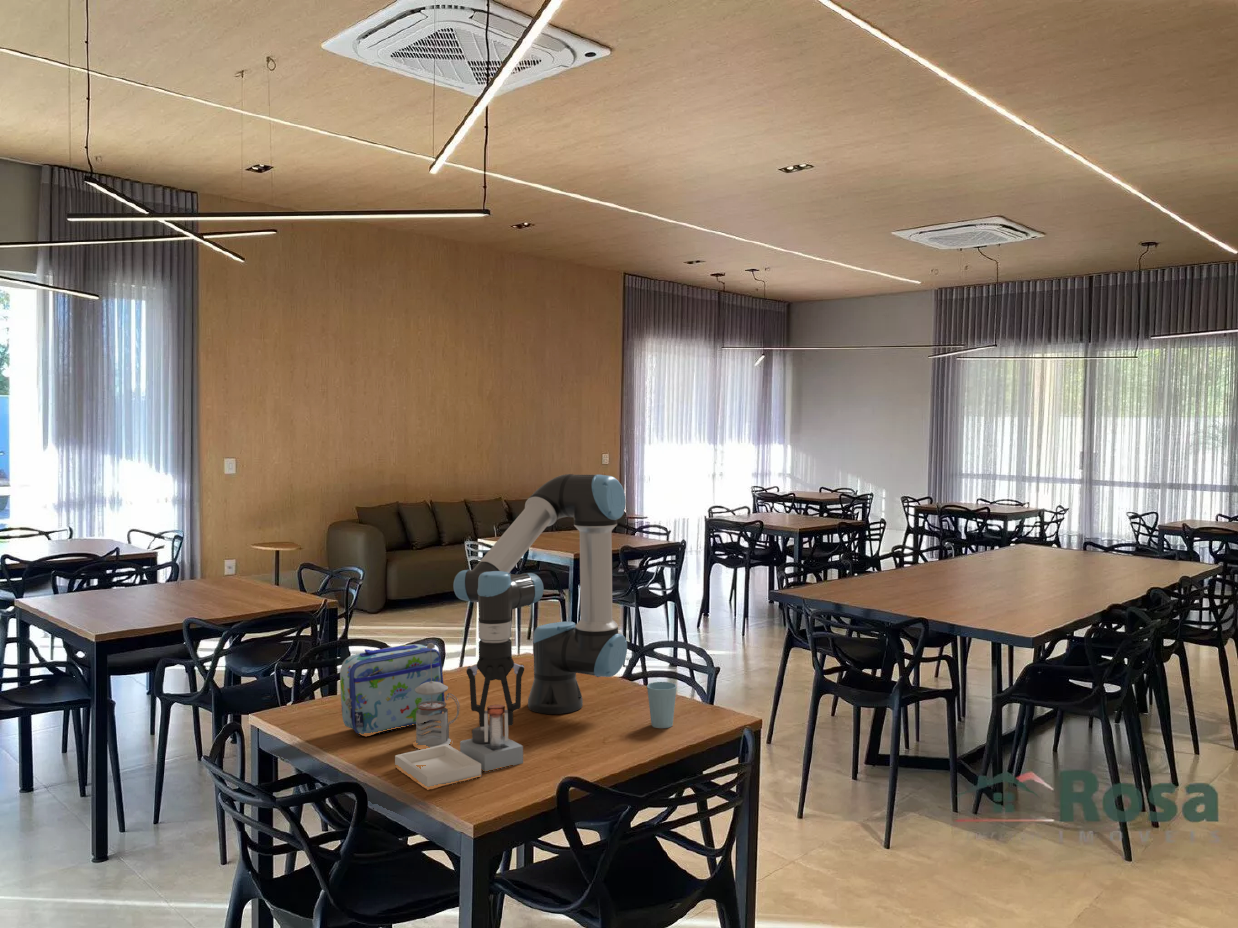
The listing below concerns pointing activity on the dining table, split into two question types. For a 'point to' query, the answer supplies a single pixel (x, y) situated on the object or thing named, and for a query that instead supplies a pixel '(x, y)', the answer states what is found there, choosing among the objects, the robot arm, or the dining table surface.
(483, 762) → the grey block with knob
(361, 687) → the lunch box
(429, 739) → the french press
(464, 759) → the parts tray
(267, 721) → the dining table surface
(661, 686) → the cup
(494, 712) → the pin
